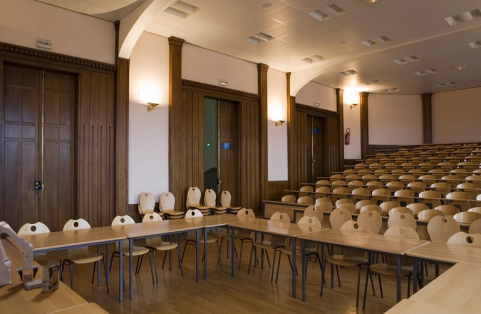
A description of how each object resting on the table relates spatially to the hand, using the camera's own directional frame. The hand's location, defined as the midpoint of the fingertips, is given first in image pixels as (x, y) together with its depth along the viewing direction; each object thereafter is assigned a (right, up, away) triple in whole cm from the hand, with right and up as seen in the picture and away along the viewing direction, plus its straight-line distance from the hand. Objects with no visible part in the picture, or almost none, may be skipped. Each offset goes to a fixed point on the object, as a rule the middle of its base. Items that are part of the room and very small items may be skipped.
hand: (27, 279), depth 255 cm
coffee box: (+23, -2, -13) cm, 27 cm away
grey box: (+9, -2, -7) cm, 11 cm away
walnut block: (0, -2, 0) cm, 2 cm away
